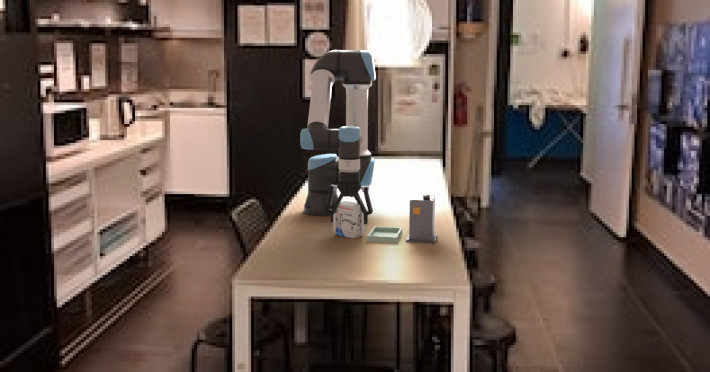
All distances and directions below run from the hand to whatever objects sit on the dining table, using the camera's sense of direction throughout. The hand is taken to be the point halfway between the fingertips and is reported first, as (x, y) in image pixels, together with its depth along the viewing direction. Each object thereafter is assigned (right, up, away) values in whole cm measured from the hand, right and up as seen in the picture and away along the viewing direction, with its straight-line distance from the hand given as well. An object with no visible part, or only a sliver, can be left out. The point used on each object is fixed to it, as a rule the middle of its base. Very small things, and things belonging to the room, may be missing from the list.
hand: (349, 232), depth 280 cm
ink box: (0, -1, 0) cm, 1 cm away
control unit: (+26, -2, -4) cm, 26 cm away
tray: (+13, -2, -2) cm, 13 cm away
